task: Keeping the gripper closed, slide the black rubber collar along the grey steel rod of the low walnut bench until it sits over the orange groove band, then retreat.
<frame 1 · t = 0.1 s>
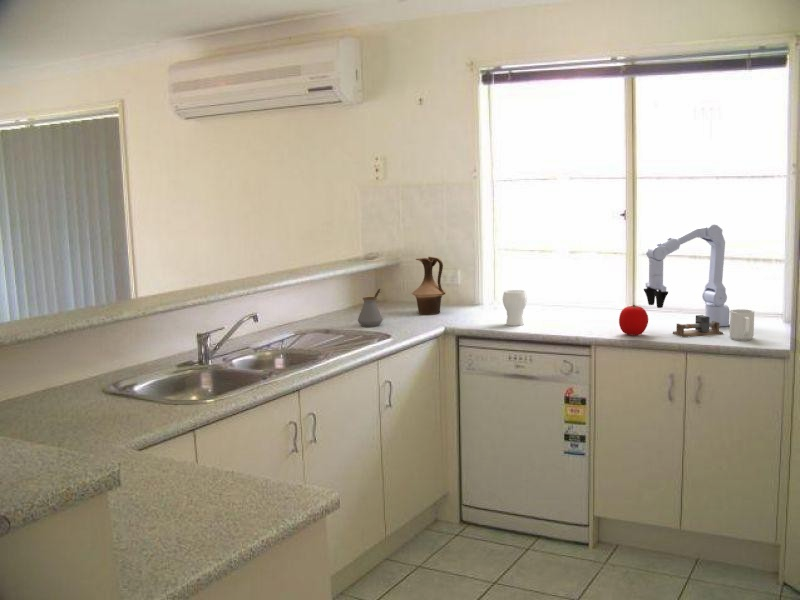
hand: (655, 306, 361), 10 cm above the counter, fingers open, 7 cm apart
cup: (514, 324, 383), on the counter
pitcher: (429, 313, 419), on the counter
mug: (742, 340, 338), on the counter
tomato: (633, 335, 353), on the counter
bench: (697, 333, 351), on the counter
coffee pot: (374, 324, 395), on the counter
collar: (702, 323, 351), point 4 cm above the counter, slide at 0.0 cm
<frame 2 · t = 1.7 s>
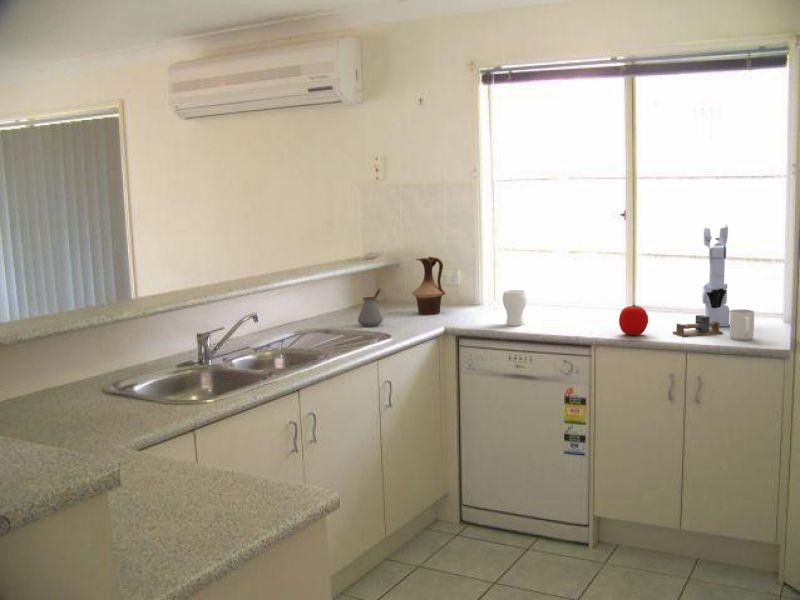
hand: (715, 307, 351), 10 cm above the counter, fingers closed
nothing on the counter moved.
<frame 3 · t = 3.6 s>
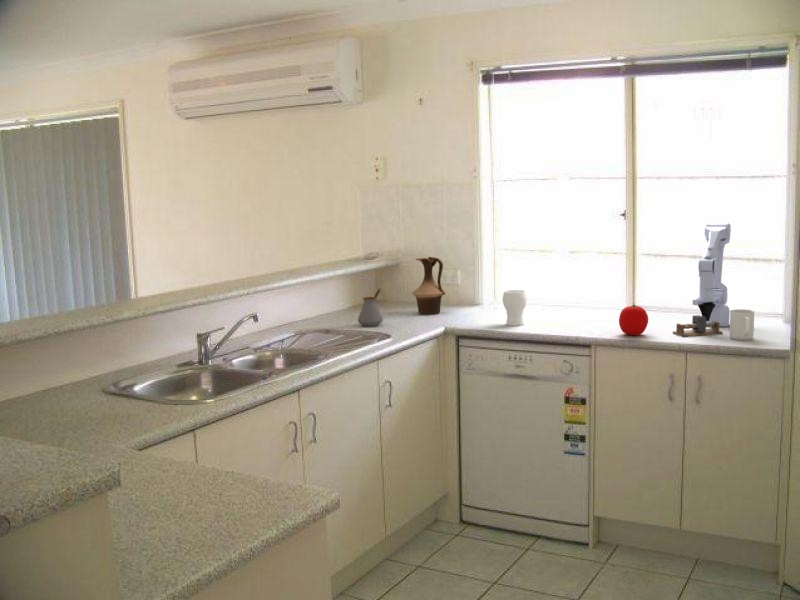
hand: (706, 320, 351), 5 cm above the counter, fingers closed
collar: (699, 323, 350), point 4 cm above the counter, slide at 1.4 cm, touching gripper
everything else where it was.
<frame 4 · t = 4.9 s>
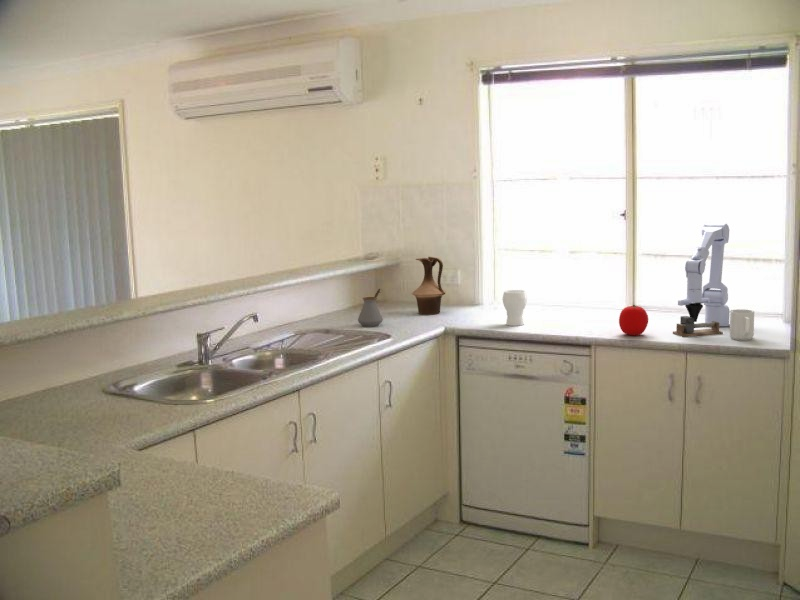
hand: (693, 321, 350), 5 cm above the counter, fingers closed
collar: (687, 324, 349), point 4 cm above the counter, slide at 6.9 cm, touching gripper
everything else where it was.
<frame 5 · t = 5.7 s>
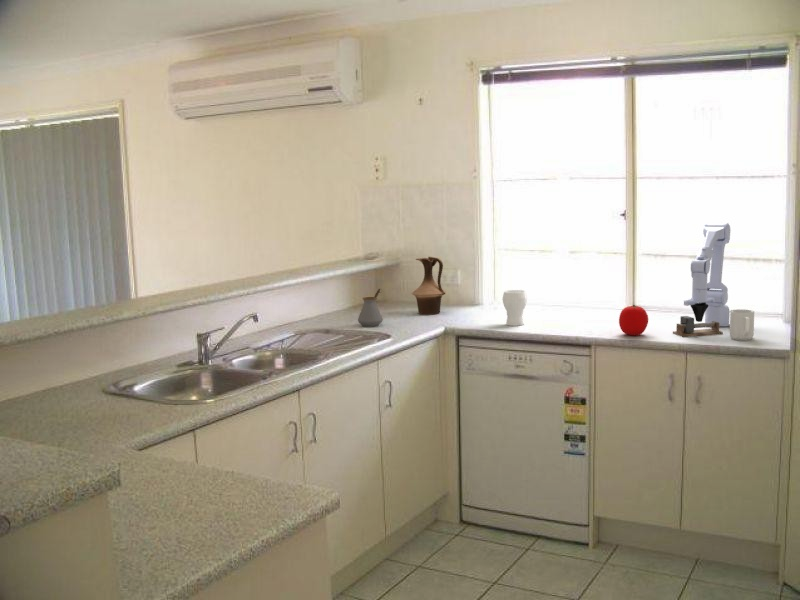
hand: (698, 321, 350), 5 cm above the counter, fingers closed
collar: (687, 324, 349), point 4 cm above the counter, slide at 6.9 cm
everything else where it was.
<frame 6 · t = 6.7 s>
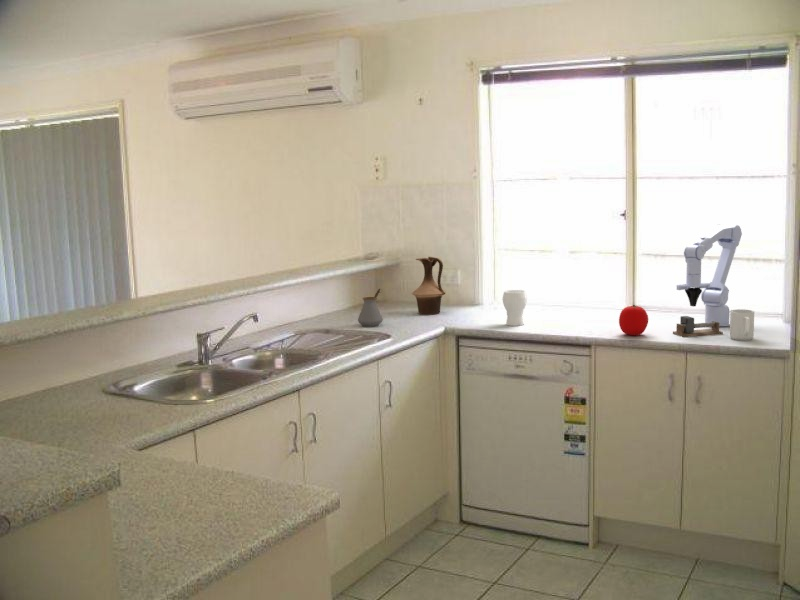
hand: (693, 306, 357), 10 cm above the counter, fingers closed
nothing on the counter moved.
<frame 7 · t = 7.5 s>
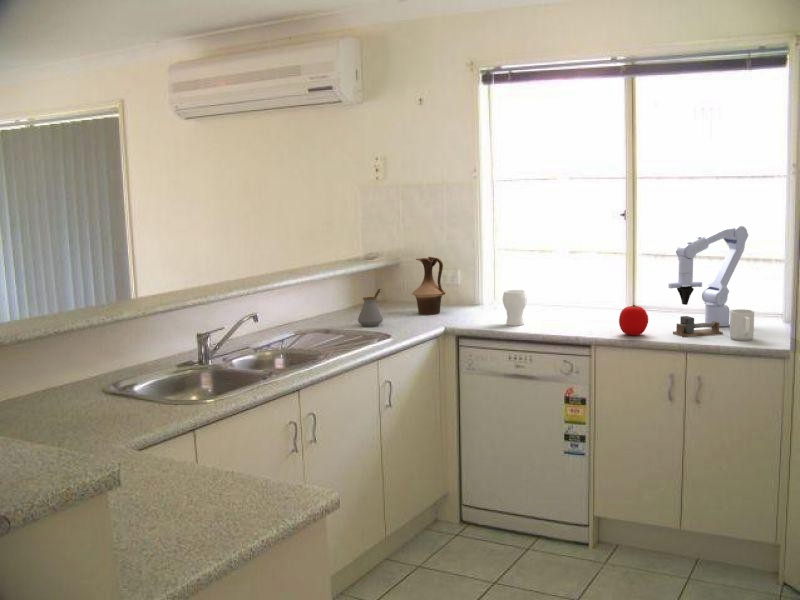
hand: (684, 304, 361), 10 cm above the counter, fingers closed
nothing on the counter moved.
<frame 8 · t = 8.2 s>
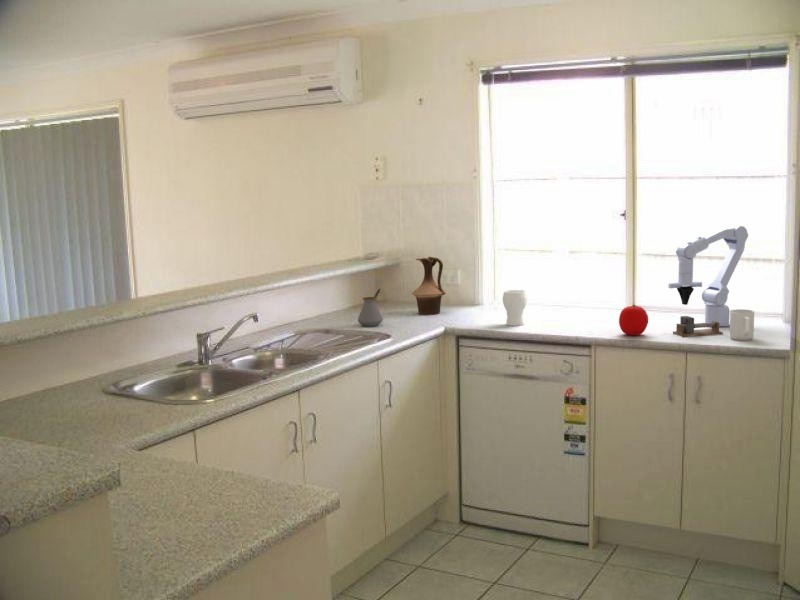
hand: (684, 304, 361), 10 cm above the counter, fingers closed
nothing on the counter moved.
at the end: collar slide at 6.9 cm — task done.
